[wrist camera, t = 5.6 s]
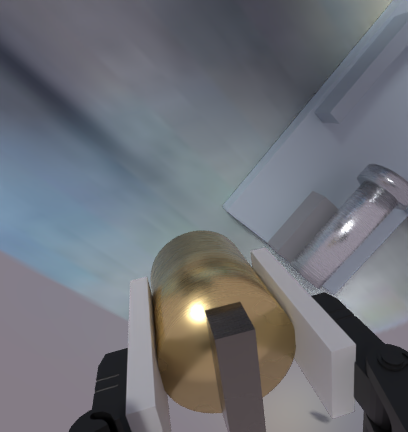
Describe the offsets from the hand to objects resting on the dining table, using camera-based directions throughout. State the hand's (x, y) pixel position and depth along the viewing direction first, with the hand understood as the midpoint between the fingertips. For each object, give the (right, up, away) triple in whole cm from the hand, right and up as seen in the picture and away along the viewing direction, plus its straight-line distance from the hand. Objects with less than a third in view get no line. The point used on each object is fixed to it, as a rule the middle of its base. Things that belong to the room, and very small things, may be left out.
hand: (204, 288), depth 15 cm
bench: (+17, +12, +13) cm, 24 cm away
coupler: (0, 0, +2) cm, 2 cm away
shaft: (+11, +3, +12) cm, 16 cm away
